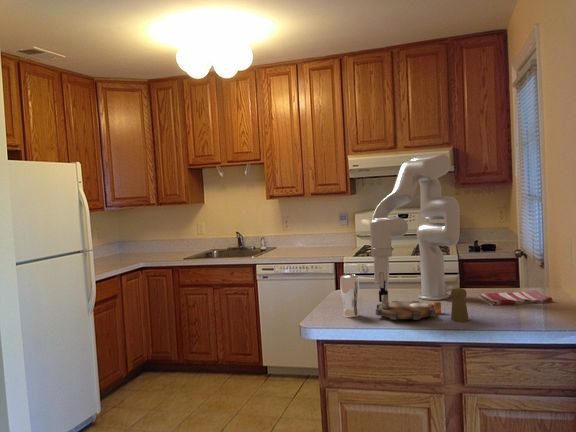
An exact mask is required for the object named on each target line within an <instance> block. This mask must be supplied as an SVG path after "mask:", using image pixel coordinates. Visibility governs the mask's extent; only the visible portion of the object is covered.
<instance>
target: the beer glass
mask: <svg viewBox="0 0 576 432" xmlns="http://www.w3.org/2000/svg"><path fill="white" fill-rule="evenodd" d="M339 281H340V285H339V286H340V295H341V300H342V305H343V311H342V316H343V317H345V318H357V317H359V316H360V311H359V307H358V303H359V296H360V295H359V294H360V283H359V276H358V275H356V274H343V275H341V276H340V280H339Z"/></svg>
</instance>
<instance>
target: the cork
mask: <svg viewBox="0 0 576 432" xmlns="http://www.w3.org/2000/svg"><path fill="white" fill-rule="evenodd" d="M467 295H468V294H467V290H466V289H465V288H461V287H456V288H455V287H454V289H452V291H450V296H451V298H452V304H451V312H450V313H451V314H450V321H452V322H457V323H464V322H469V320H470V319H469V318H470V317H469V313H468V308H467V301H466V298H467Z"/></svg>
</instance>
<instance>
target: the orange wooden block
mask: <svg viewBox="0 0 576 432" xmlns="http://www.w3.org/2000/svg"><path fill="white" fill-rule="evenodd" d="M433 305H434V309H435V315H437V314H442V303H441V302H440V301H433ZM396 320H399V321H411V320H412V321H413V320H414V319H396ZM414 321H415V320H414Z"/></svg>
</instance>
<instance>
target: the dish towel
mask: <svg viewBox="0 0 576 432" xmlns="http://www.w3.org/2000/svg"><path fill="white" fill-rule="evenodd" d="M477 298H479V299H481V300H482V301H484V302H486V303H487V304H489V305H491V306H512V305H529V304H531V305H533V304H544V303H543V302H553V303H554V299H553V297H551V296H547V295H544V294H542V293H541V292H539V291H538V290H527V291H517V292H491V293H490V292H488V293H479V294H477ZM532 303H533V304H532Z"/></svg>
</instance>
